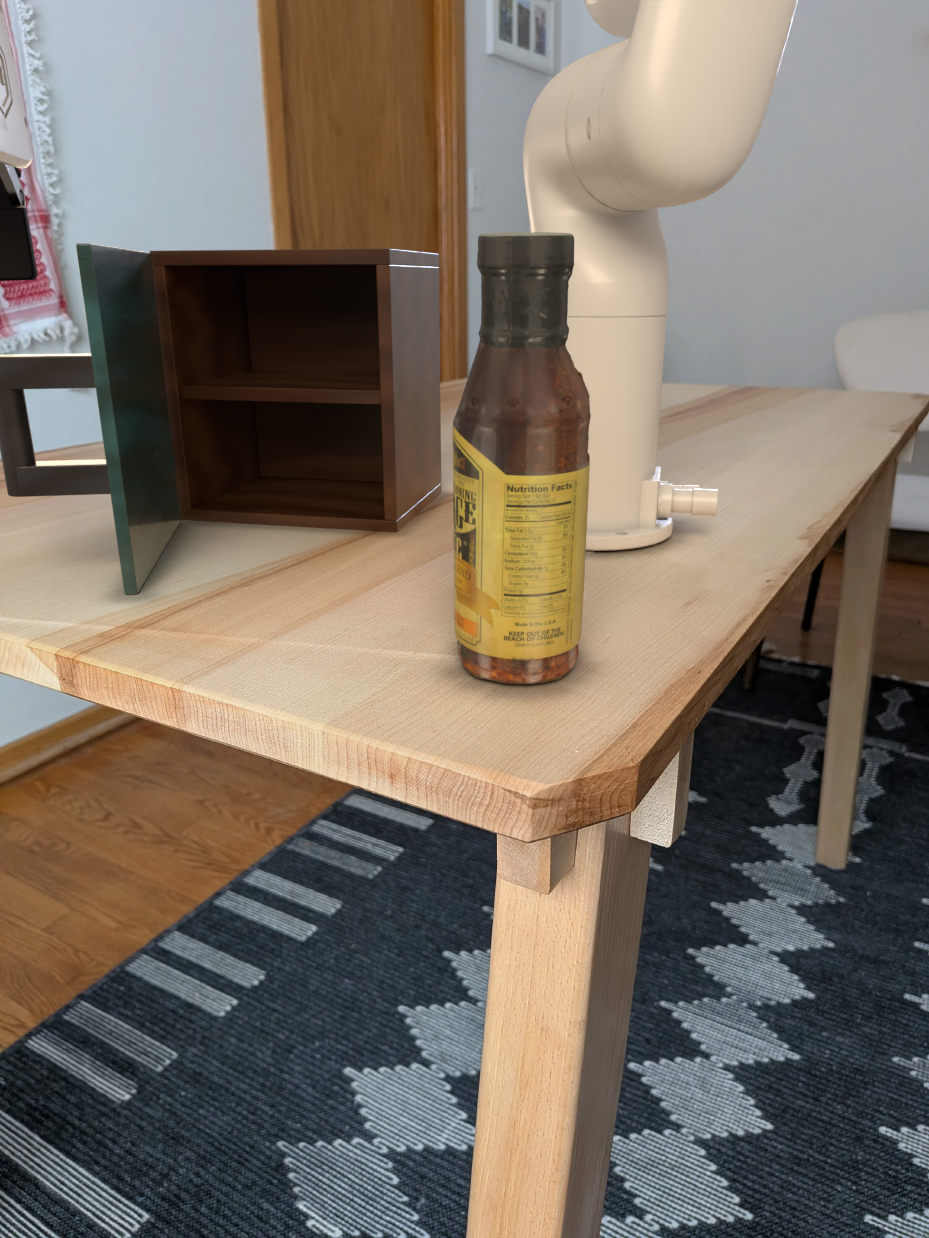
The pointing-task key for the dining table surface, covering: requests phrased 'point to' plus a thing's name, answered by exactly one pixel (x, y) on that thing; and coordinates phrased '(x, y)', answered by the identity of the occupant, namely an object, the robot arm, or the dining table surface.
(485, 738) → the dining table surface
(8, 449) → the cupboard door
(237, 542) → the dining table surface
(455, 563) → the sauce bottle
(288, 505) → the cupboard
